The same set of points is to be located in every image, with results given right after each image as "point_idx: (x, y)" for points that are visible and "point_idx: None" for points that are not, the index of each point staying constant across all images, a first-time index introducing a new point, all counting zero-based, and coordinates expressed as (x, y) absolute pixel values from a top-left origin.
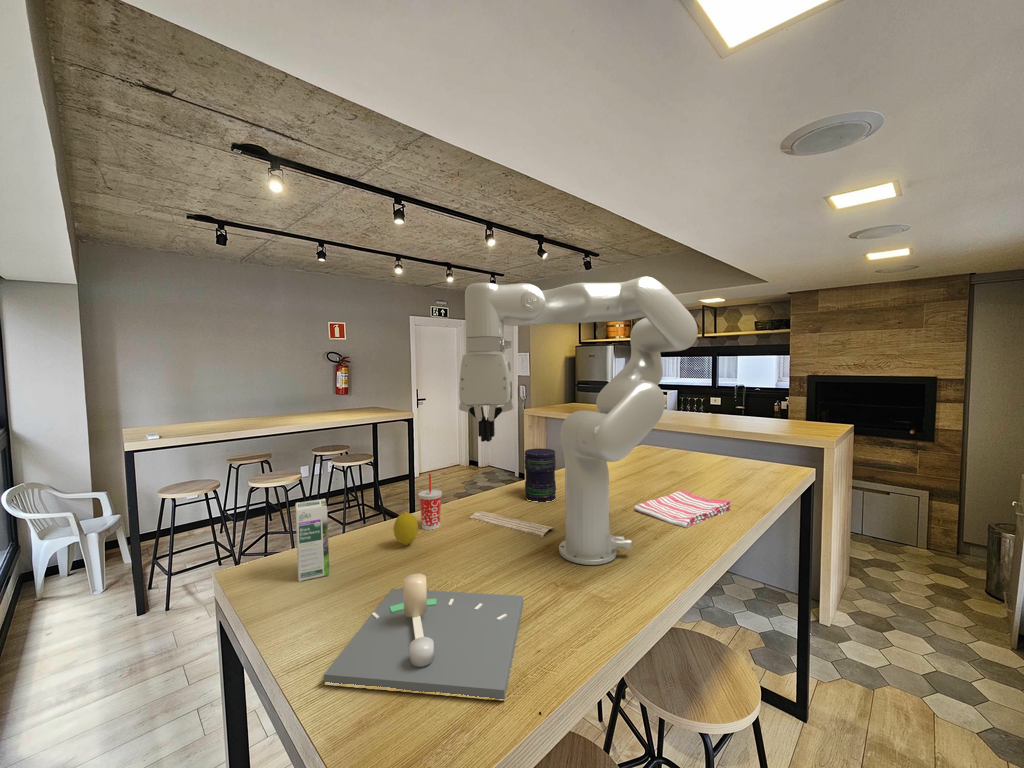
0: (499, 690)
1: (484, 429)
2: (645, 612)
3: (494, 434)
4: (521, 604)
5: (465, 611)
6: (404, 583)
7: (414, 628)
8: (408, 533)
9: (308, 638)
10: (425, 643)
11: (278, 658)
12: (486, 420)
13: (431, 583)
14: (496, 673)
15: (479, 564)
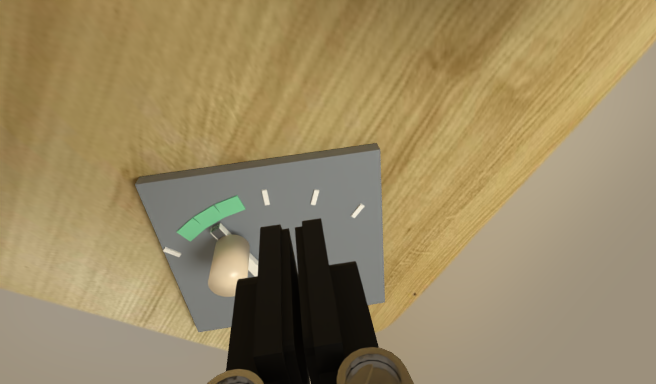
0: (379, 302)
1: (307, 370)
2: (570, 117)
3: (356, 264)
4: (380, 173)
5: (298, 210)
6: (218, 294)
7: (255, 276)
8: None
9: (109, 282)
10: None
11: (112, 312)
12: (295, 367)
13: (179, 117)
14: (372, 289)
15: (240, 3)
